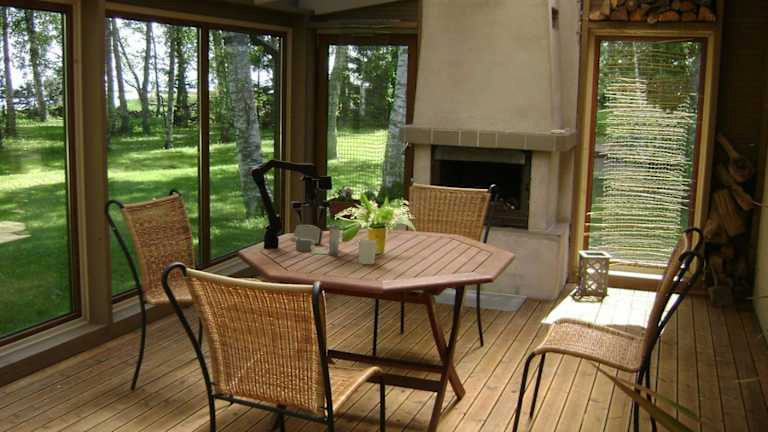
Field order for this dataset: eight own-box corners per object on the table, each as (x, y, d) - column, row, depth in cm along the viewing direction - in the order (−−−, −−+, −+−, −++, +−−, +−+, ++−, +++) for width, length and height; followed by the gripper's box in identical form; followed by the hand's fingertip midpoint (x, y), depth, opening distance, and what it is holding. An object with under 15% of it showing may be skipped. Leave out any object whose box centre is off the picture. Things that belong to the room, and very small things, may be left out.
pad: (311, 254, 384) (311, 253, 384) (310, 250, 392) (310, 249, 392) (328, 254, 385) (328, 253, 385) (327, 250, 393) (327, 250, 393)
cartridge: (328, 256, 380) (329, 226, 378) (328, 254, 385) (329, 224, 383) (338, 256, 381) (339, 226, 379) (337, 254, 385) (339, 225, 383)
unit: (296, 250, 390) (296, 238, 390) (295, 248, 395) (296, 237, 394) (310, 250, 391) (311, 239, 390) (310, 248, 396) (310, 237, 395)
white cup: (378, 263, 371) (380, 241, 369) (365, 265, 366) (366, 243, 364) (367, 260, 377) (368, 238, 375) (354, 262, 371) (355, 240, 370)
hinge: (289, 240, 414) (294, 221, 415) (295, 242, 417) (300, 223, 419) (314, 245, 404) (320, 226, 405) (320, 247, 408) (325, 228, 409)
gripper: (296, 192, 383) (296, 225, 386) (334, 191, 391) (333, 224, 393) (289, 189, 393) (288, 222, 396) (326, 188, 401) (325, 220, 403)
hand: (309, 222), depth 397 cm, fingers open, 9 cm apart
